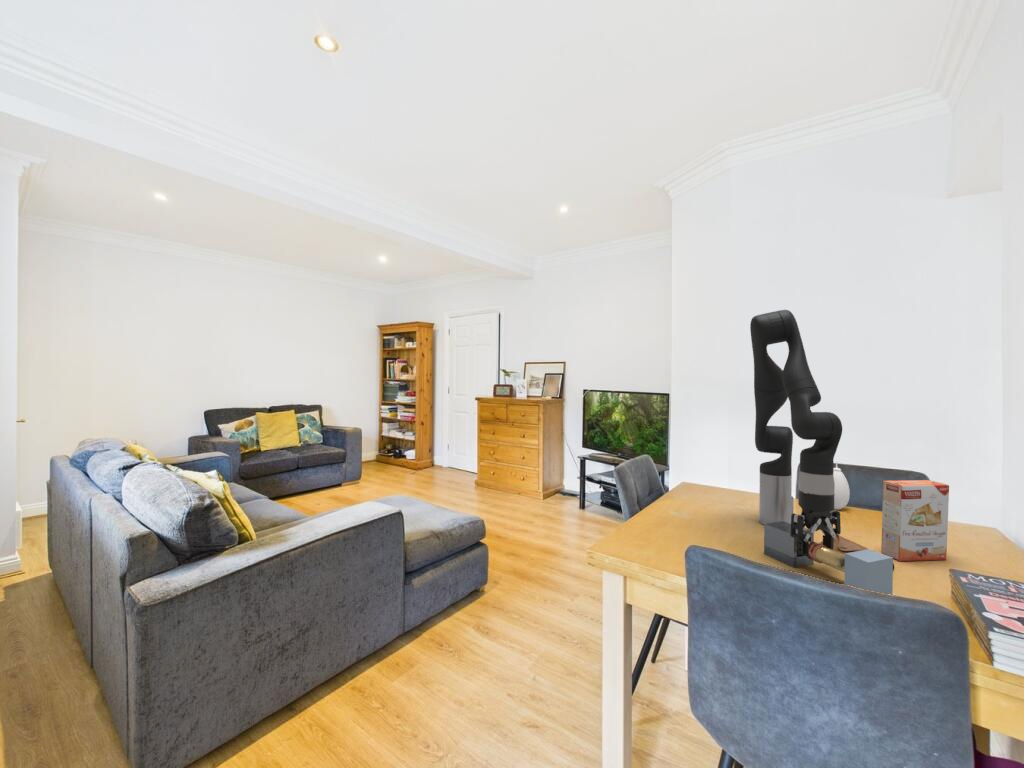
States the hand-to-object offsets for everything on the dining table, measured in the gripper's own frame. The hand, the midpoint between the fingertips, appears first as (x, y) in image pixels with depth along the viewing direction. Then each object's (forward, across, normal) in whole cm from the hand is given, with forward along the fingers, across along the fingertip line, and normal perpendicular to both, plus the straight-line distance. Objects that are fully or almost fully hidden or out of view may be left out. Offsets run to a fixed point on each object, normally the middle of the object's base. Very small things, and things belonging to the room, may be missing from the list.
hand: (815, 552), depth 109 cm
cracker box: (+5, -34, +2) cm, 35 cm away
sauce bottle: (+4, -57, -36) cm, 67 cm away
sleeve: (+5, 0, -8) cm, 9 cm away
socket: (+5, -1, +12) cm, 13 cm away
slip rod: (+2, 0, -2) cm, 3 cm away
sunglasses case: (+5, -18, -4) cm, 19 cm away
